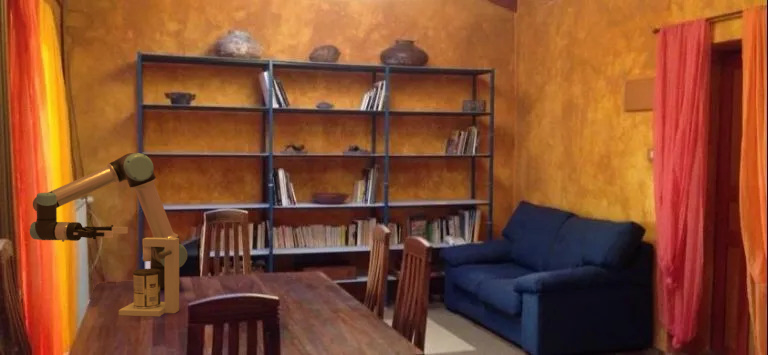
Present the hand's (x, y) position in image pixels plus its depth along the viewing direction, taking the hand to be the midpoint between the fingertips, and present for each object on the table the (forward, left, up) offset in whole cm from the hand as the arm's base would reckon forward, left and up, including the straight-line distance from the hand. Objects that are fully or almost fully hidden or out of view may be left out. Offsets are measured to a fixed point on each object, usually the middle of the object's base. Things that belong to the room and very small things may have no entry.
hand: (120, 232), depth 285 cm
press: (+11, +17, -30) cm, 36 cm away
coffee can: (+9, +15, -28) cm, 33 cm away
